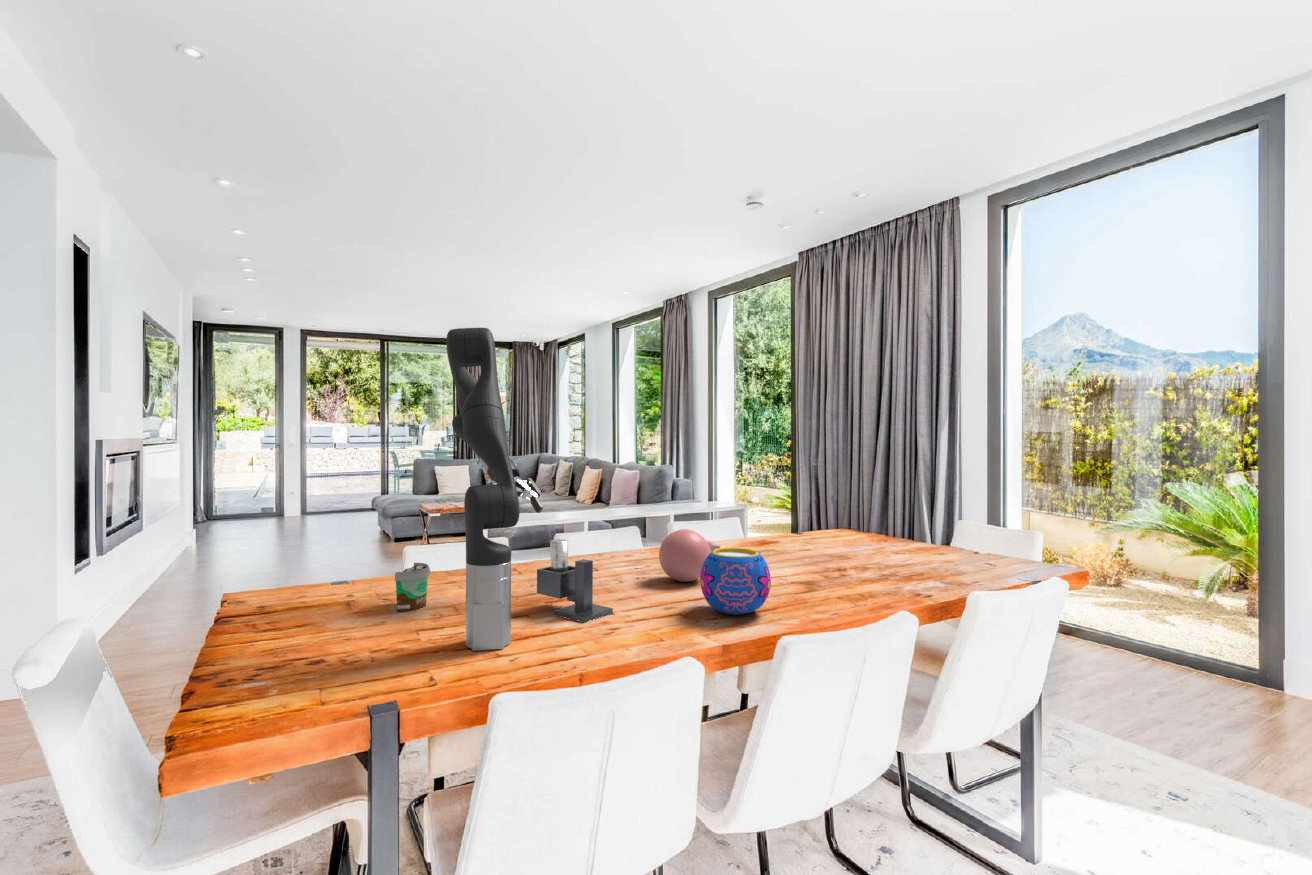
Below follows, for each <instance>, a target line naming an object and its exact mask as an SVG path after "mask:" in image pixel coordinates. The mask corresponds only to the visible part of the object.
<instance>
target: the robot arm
mask: <svg viewBox="0 0 1312 875" xmlns="http://www.w3.org/2000/svg"><path fill="white" fill-rule="evenodd" d="M445 339H446V341H445V343H446V353H447V359H448V364H449V367H450V368H449V369H450V372H451V376H452V379H453V383H454V386H455V389H456V390H455V391H456V398H457V401H456V402H457V409H458V411H459V413H458V414H457V415H455V416H454V417H453V418H452V420H451V421H452V422H451V428H452V429H453V430H452V431H453V432H454V433H455V434H456V436H457V437H458V438H459V439H460V440H461V441H463V442H464V443H465V444H466V445H468V446H469V448H471V449H472V451H473V452H474V453H475V455H476V456H477V458H478V460H479V461H480V464H481V467H482V469H483V470H484V472H485V473H486V474H487V476H488V477H489V480H490V482H489V484H479V485H477V484H476V485H470V486H468V488H467V489H466V492H465V494H464V502H463V503H464V504H463V506H464V510H463V511H464V523H465V526H464V527H465V646H466V647H467V648H469V649H471V651H473V652H474V651H477V652H478V651H489V650H490V651H491V650H503V649H504V647H506V646H508V645H509V644H511V642H512V549H511V547H510V546H508V545H506V544H503V543H500V542H495V541H493V540H490V539H488V538H487V537H485V535H484V530H494V529H495V530H496V529H508V528H513V527H515V526H517V524H518V523H519V520H520V501H519V500H520V499H519V498H521V499H522V500H527V501H528V502H530V505H531V506H532V507H533V510H534V511H535V512H536V513H537V514H540V513H541V512H542V511H543V509H544V506H543V504H542V502H541V501H540V500H539V498H540V496H541V495H542V491H541V489H539V487H538V485H537V484H536V483H535V481H534V480H533V479H532V478H531V477H528V479H527V480H523V479H522V478H521V477H520V470H519V469H518V466H517V465H516V464H515V462H514V461H513V459H512V457H511V456H510V453H509V445H508V438H507V430H506V429H507V428H506V420H505V415H504V409H503V402H502V397H501V392H500V387H499V380H498V367H497V366H498V365H497V355H496V354H497V353H496V344H495V338H494V336H493V333H492V331H491V330H490V329H489V328H488V327H464V328H461V327H460V328H453V329H449V331H448V332H447V334H446V338H445ZM469 367H470V368H471V367H473V368H474V367H482V369H481V372H480V375H479V377H478V378H477V377H475V376H474V374H472V373H471V372H470V371H469V370H467V368H469ZM524 491H526V492H525V493H524ZM529 495H530V496H529Z"/></svg>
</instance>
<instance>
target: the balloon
mask: <svg viewBox="0 0 1312 875" xmlns="http://www.w3.org/2000/svg"><path fill="white" fill-rule="evenodd" d="M659 547H660V548H659V551H658V560H659V563H660V566H661V569H662V571H663V572H664V574H666V575H667V576H668V577H669V578H671V579H672V580H674V581H677V582H680V583H681V582H683V583H689V582H693V581H696V580H698V579H700V574H701V569H702V566H703V563H704V561H705V559H706V558H707V556H708V555H709V554H710V553H711V552H713V551H714V550H717V549H721V545H720V544H718V543H717V544H716V543H713V541H711V540H707V539H705V537H703V536H702V535H701V534H700V533H699V532H697V531H694V530H692V529H677V530H675V531H673V532H671V533H669V534H668V535H667V536H666V537H665V538H664V540H663V541H662V543H661V545H660V546H659Z"/></svg>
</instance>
